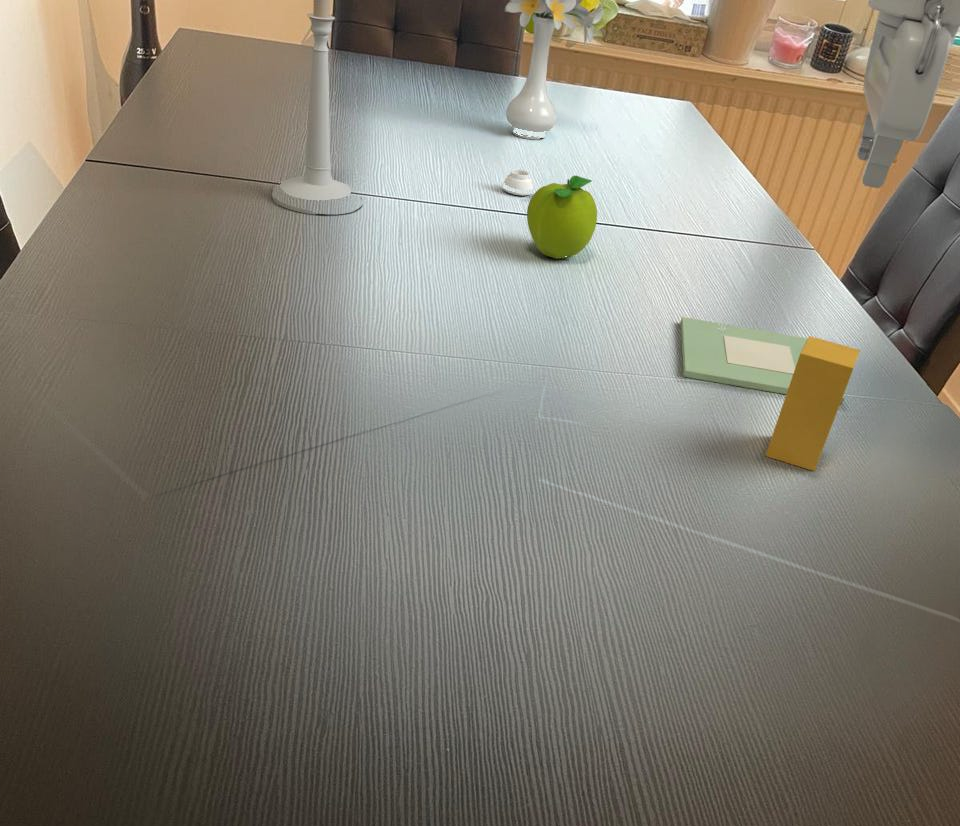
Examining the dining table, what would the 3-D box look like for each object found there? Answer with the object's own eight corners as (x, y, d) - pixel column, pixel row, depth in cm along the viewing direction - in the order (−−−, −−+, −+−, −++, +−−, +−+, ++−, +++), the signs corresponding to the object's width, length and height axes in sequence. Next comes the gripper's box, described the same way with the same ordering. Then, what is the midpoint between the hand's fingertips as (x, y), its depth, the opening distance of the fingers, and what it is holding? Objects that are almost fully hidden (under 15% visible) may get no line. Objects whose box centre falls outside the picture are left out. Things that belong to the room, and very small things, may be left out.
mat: (823, 347, 126) (826, 340, 126) (842, 404, 114) (845, 397, 113) (680, 322, 127) (682, 315, 126) (683, 377, 114) (685, 369, 114)
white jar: (538, 192, 162) (509, 185, 163) (541, 173, 160) (512, 165, 161) (525, 199, 158) (496, 191, 160) (528, 179, 156) (499, 171, 158)
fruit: (600, 257, 142) (615, 181, 136) (567, 273, 136) (581, 194, 129) (544, 238, 145) (556, 163, 139) (509, 252, 139) (520, 175, 132)
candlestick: (254, 191, 145) (249, -61, 126) (327, 182, 153) (333, -58, 134) (306, 220, 139) (309, -42, 120) (380, 209, 146) (394, -39, 127)
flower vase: (579, 152, 184) (607, -10, 168) (479, 135, 184) (497, -28, 169) (583, 135, 194) (609, -19, 178) (487, 119, 194) (506, -36, 179)
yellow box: (774, 436, 106) (809, 335, 99) (822, 450, 105) (860, 349, 98) (765, 456, 102) (800, 352, 95) (814, 471, 101) (853, 368, 94)
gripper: (987, 14, 74) (913, 210, 83) (954, -15, 90) (895, 152, 99) (900, -1, 75) (836, 195, 84) (882, -28, 91) (829, 140, 99)
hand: (867, 171), depth 91 cm, fingers open, 8 cm apart
